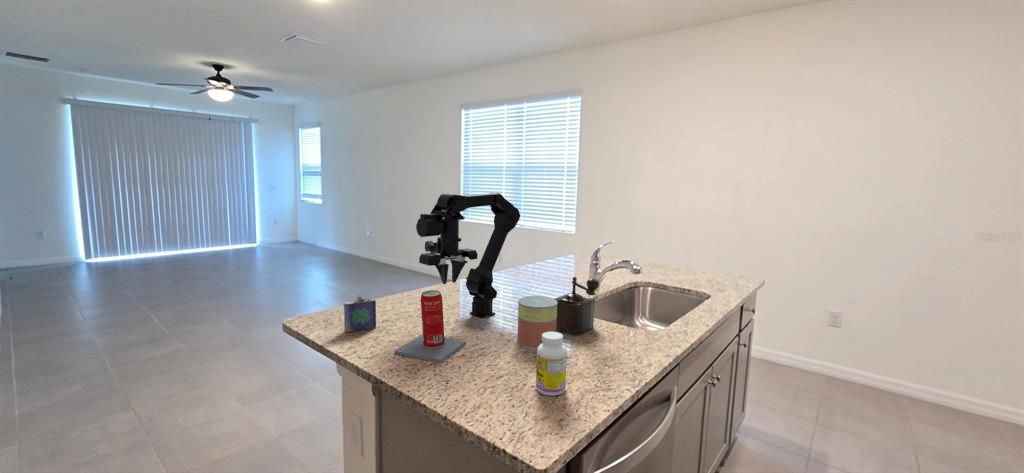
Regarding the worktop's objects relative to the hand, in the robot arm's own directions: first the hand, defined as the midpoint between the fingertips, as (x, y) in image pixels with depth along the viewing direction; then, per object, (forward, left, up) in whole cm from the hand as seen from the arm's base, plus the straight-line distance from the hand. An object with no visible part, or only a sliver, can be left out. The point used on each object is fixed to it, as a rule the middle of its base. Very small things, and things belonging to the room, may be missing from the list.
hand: (449, 283), depth 141 cm
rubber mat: (+16, +14, -13) cm, 25 cm away
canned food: (-10, +29, -13) cm, 33 cm away
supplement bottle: (+9, +51, -13) cm, 53 cm away
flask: (+24, -12, -13) cm, 30 cm away
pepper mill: (-27, +31, -13) cm, 43 cm away
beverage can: (+16, +14, -12) cm, 24 cm away
